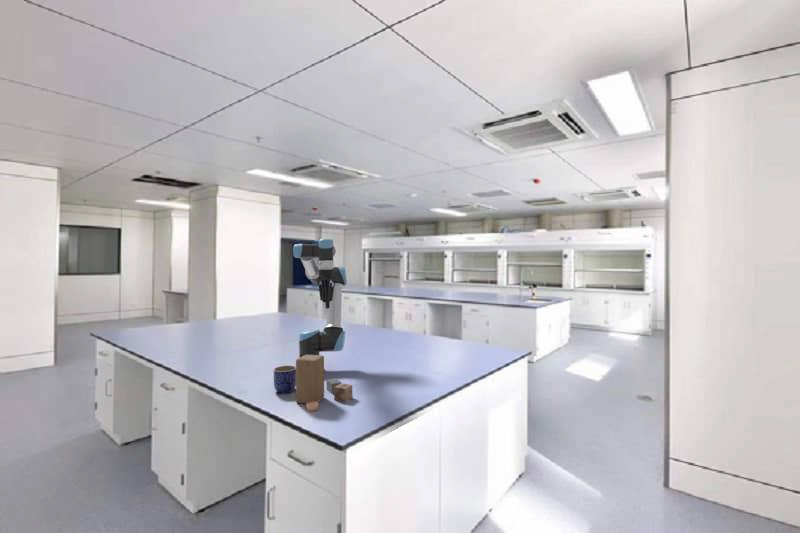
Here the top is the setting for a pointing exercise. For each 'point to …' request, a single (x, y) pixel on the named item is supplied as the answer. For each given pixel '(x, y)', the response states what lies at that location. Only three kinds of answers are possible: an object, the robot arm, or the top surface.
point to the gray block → (332, 385)
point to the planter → (285, 379)
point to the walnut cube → (343, 392)
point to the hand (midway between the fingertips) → (326, 314)
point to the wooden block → (309, 378)
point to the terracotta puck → (312, 406)
